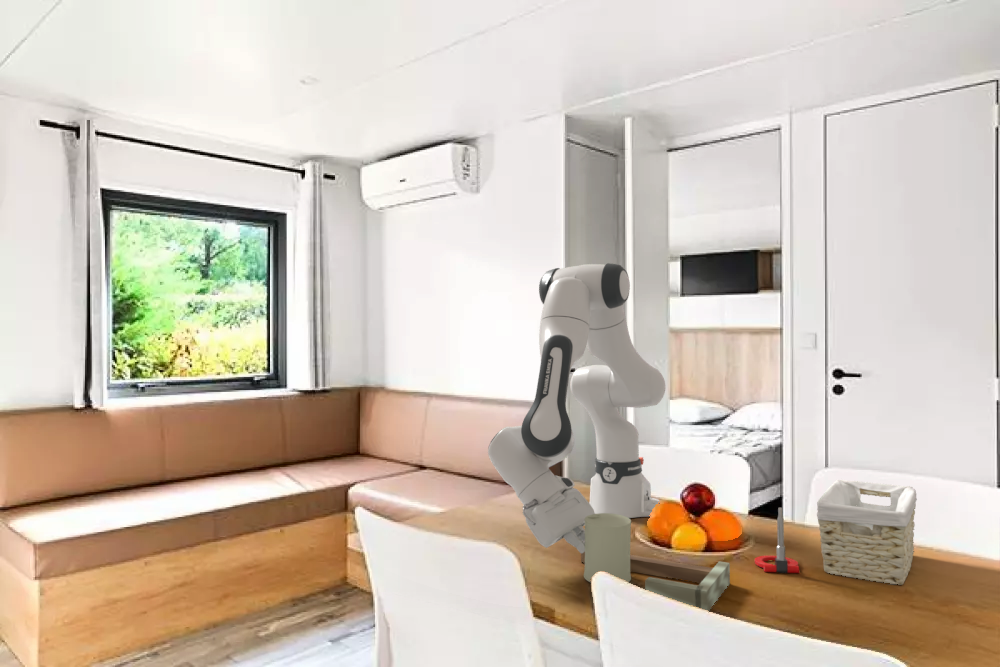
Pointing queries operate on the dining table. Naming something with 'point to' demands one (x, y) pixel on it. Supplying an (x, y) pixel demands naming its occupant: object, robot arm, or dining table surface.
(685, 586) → the rail stop
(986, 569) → the dining table surface
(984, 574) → the dining table surface
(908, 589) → the dining table surface
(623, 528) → the can
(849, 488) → the storage basket
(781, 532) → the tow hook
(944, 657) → the dining table surface
